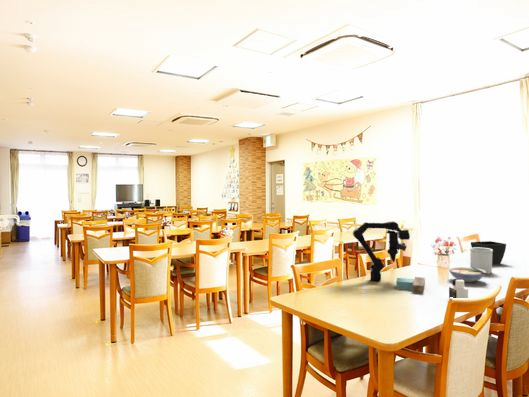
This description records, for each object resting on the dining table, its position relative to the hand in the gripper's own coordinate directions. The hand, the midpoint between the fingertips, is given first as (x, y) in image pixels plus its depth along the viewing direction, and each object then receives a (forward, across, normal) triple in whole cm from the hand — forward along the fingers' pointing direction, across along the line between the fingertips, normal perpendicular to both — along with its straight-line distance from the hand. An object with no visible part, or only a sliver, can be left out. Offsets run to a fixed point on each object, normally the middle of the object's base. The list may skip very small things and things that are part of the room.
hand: (393, 261), depth 256 cm
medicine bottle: (+13, -34, -38) cm, 53 cm away
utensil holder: (+13, +48, -58) cm, 77 cm away
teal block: (+13, -16, -8) cm, 22 cm away
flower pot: (+13, +87, -67) cm, 111 cm away
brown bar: (+13, -16, -17) cm, 27 cm away
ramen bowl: (+13, +15, -46) cm, 50 cm away
